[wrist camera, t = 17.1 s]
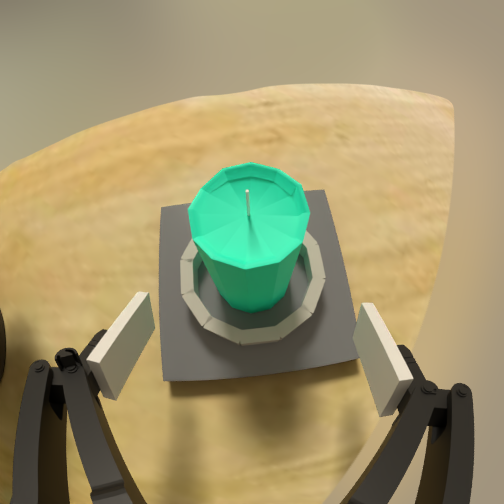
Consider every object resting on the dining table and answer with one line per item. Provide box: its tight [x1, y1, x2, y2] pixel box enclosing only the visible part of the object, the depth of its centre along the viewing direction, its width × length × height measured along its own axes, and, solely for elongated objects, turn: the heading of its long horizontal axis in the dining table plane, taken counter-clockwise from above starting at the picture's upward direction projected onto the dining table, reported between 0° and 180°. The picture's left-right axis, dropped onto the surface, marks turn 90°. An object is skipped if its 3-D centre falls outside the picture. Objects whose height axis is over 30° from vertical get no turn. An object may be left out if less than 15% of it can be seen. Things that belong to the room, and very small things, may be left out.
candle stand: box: [159, 190, 360, 381], centre depth 23 cm, size 16×16×4 cm
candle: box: [188, 162, 310, 313], centre depth 17 cm, size 6×6×12 cm
